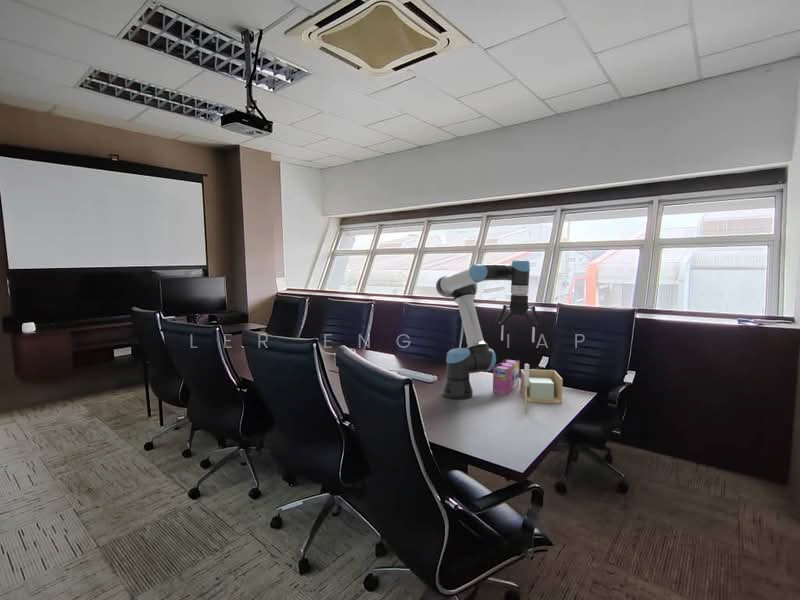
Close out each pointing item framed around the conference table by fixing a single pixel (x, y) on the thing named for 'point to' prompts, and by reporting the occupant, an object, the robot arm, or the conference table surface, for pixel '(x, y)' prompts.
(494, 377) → the gum box
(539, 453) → the conference table surface
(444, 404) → the conference table surface
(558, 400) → the carton
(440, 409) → the conference table surface
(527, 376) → the front flap
